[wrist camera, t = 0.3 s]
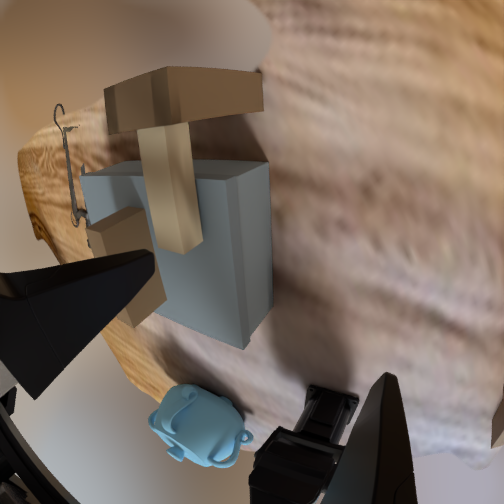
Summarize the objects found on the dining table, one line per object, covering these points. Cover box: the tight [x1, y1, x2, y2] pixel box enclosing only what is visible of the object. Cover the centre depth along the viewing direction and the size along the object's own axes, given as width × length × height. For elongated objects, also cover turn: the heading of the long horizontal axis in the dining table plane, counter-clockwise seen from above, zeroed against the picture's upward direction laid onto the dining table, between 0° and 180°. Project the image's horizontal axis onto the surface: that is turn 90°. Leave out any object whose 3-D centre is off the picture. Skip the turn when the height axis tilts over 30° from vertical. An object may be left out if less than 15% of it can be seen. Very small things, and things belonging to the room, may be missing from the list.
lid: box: [79, 172, 250, 350], centre depth 23 cm, size 14×18×7 cm
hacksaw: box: [54, 104, 91, 248], centre depth 37 cm, size 24×10×2 cm, turn 172°
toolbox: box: [97, 66, 273, 336], centre depth 24 cm, size 21×18×10 cm
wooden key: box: [137, 122, 203, 255], centre depth 17 cm, size 10×2×2 cm, turn 4°
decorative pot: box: [148, 384, 253, 468], centre depth 43 cm, size 16×16×14 cm
